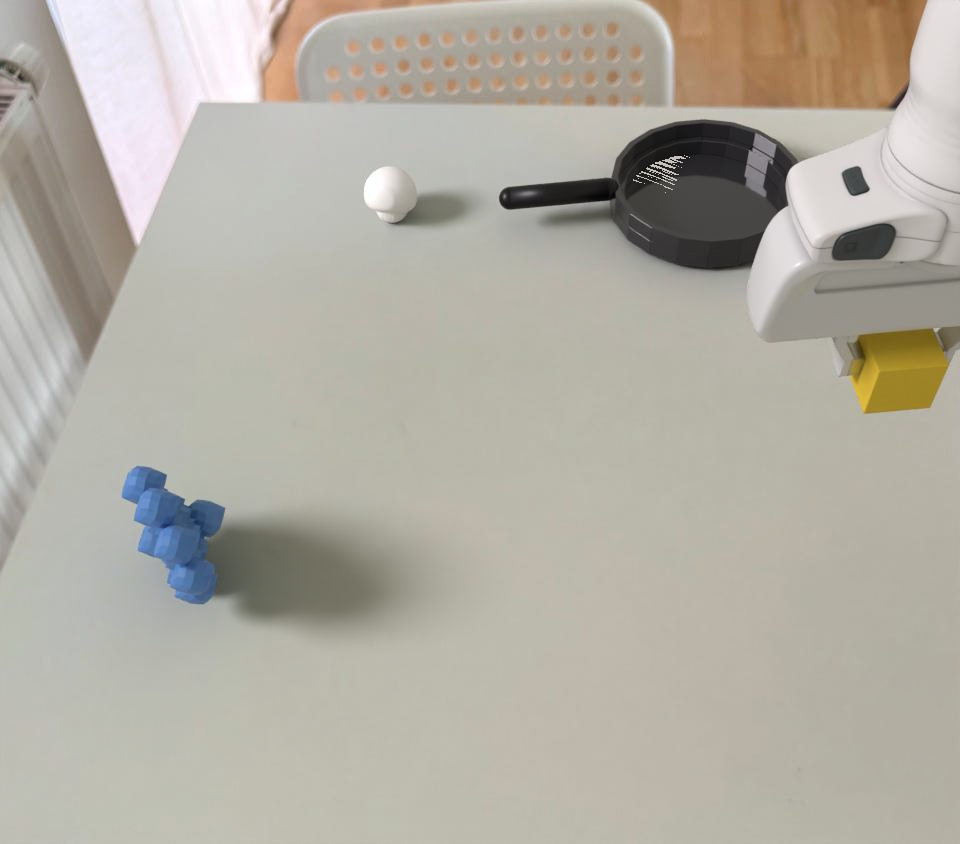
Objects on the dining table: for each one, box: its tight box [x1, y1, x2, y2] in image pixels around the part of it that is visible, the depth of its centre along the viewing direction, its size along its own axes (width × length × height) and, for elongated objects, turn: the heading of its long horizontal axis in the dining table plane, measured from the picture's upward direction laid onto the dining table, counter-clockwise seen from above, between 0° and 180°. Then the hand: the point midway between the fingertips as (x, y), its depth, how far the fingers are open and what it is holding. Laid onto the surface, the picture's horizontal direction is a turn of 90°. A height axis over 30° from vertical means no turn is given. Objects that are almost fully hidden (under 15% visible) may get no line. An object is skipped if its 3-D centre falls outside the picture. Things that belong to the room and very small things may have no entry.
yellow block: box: [849, 328, 950, 415], centre depth 72 cm, size 4×6×4 cm
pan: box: [609, 118, 799, 269], centre depth 102 cm, size 17×17×4 cm
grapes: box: [121, 465, 226, 605], centre depth 78 cm, size 12×7×12 cm, turn 31°
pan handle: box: [498, 177, 619, 211], centre depth 101 cm, size 11×2×2 cm, turn 95°
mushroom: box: [363, 165, 418, 224], centre depth 103 cm, size 5×5×5 cm
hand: (888, 365), depth 72 cm, fingers closed on yellow block, 4 cm apart
